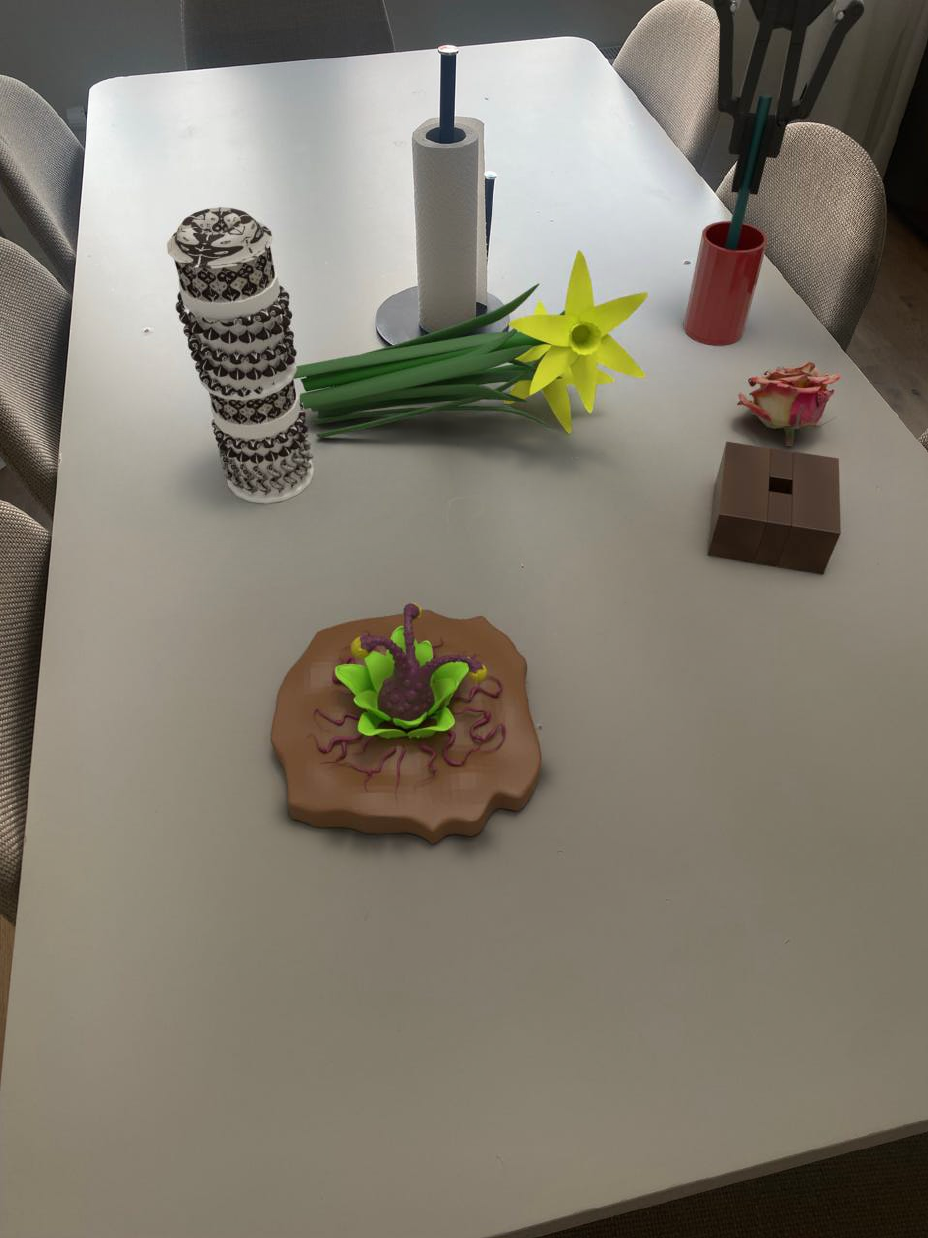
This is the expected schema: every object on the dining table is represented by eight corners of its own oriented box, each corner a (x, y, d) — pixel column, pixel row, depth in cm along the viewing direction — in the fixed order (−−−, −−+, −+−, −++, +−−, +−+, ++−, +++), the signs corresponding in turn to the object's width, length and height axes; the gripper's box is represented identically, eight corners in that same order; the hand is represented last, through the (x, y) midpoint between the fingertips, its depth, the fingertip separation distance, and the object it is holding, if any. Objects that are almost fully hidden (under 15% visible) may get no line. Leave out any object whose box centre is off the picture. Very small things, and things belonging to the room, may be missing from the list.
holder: (822, 499, 86) (839, 457, 82) (823, 574, 80) (841, 533, 76) (715, 482, 87) (726, 441, 84) (707, 555, 81) (719, 513, 77)
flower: (856, 444, 88) (861, 359, 86) (781, 449, 85) (785, 361, 83) (786, 442, 97) (789, 365, 95) (715, 447, 94) (717, 367, 92)
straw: (734, 254, 98) (772, 93, 86) (734, 259, 98) (772, 98, 85) (723, 253, 99) (759, 92, 86) (722, 258, 98) (759, 97, 86)
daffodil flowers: (335, 364, 102) (651, 299, 93) (342, 490, 99) (668, 436, 91) (262, 292, 86) (636, 205, 77) (269, 441, 83) (656, 368, 74)
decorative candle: (238, 518, 85) (170, 263, 65) (212, 459, 90) (142, 209, 71) (331, 489, 87) (292, 236, 68) (300, 434, 92) (255, 185, 73)
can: (745, 316, 106) (768, 224, 98) (742, 348, 102) (766, 255, 94) (686, 309, 107) (704, 217, 99) (681, 340, 103) (699, 247, 95)
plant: (283, 633, 75) (260, 536, 67) (518, 619, 76) (524, 522, 68) (267, 857, 62) (235, 772, 54) (550, 838, 63) (562, 751, 55)
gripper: (900, -110, 76) (816, 178, 94) (726, -119, 78) (678, 164, 96) (905, -87, 71) (817, 212, 89) (721, -98, 73) (671, 196, 91)
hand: (745, 186), depth 92 cm, fingers closed on straw
